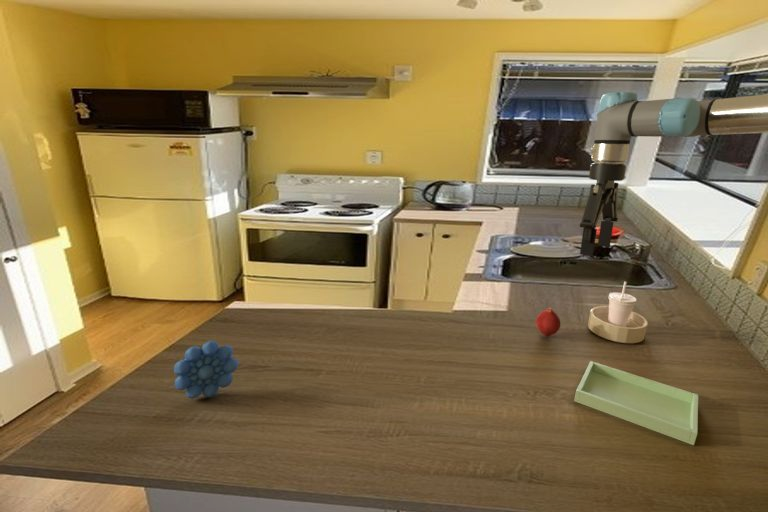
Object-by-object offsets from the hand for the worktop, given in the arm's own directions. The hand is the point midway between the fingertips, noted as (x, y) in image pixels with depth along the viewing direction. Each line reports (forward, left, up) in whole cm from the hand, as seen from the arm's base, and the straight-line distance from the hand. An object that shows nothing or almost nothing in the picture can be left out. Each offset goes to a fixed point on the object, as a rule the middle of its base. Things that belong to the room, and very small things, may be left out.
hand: (595, 250), depth 105 cm
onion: (+6, +8, -23) cm, 25 cm away
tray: (-16, +25, -22) cm, 37 cm away
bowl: (-8, -6, -22) cm, 24 cm away
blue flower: (+52, +74, -23) cm, 94 cm away
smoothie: (-8, -6, -22) cm, 24 cm away
